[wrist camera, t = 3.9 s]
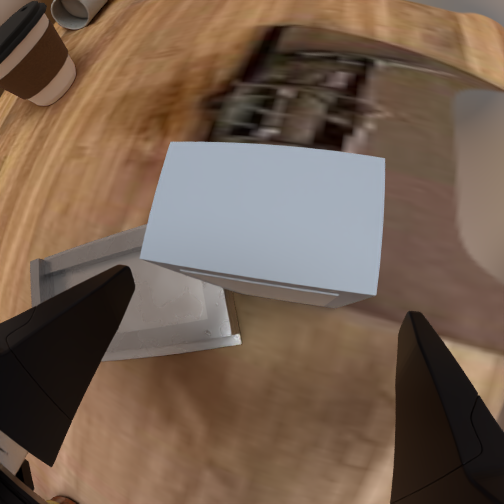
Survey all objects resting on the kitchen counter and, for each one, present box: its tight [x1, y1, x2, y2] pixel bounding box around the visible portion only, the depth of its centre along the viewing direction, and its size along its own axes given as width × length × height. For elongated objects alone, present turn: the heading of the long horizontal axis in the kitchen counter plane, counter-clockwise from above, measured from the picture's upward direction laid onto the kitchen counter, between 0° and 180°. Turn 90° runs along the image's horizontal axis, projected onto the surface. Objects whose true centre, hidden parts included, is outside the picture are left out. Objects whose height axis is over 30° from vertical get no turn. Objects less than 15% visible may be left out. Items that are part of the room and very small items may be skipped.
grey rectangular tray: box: [30, 224, 242, 361], centre depth 20 cm, size 16×9×2 cm, turn 101°
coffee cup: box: [0, 1, 76, 106], centre depth 23 cm, size 11×11×12 cm
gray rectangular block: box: [139, 142, 385, 308], centre depth 13 cm, size 4×6×12 cm, turn 80°
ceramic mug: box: [51, 0, 108, 30], centre depth 29 cm, size 11×8×8 cm
